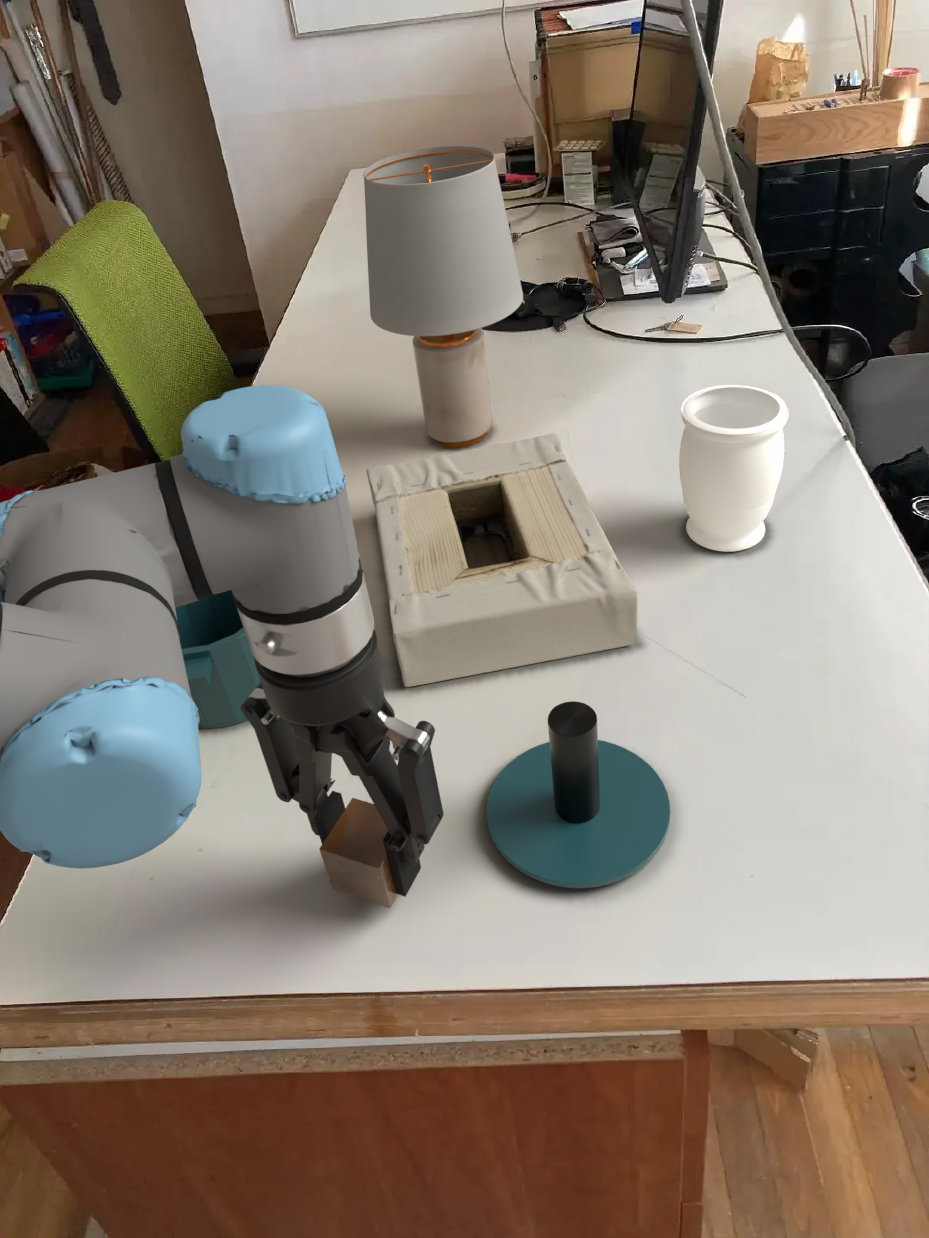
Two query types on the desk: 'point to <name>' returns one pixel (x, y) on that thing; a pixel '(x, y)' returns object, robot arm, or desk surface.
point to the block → (359, 855)
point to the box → (496, 562)
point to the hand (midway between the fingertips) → (375, 869)
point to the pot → (217, 659)
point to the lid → (578, 806)
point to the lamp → (442, 276)
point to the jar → (731, 463)
